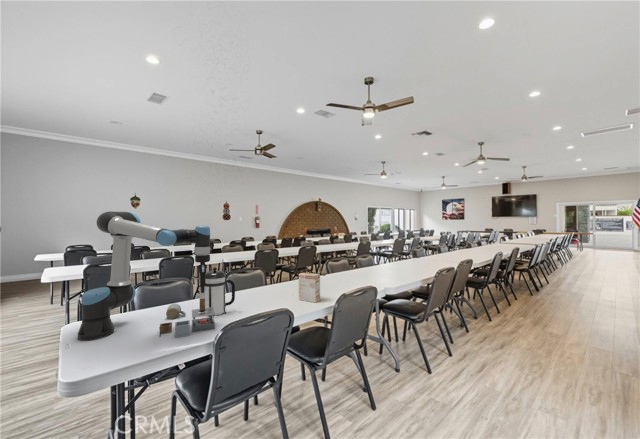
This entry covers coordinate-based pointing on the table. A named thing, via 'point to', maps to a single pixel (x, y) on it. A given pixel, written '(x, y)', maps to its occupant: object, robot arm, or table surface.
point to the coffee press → (217, 291)
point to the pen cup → (182, 328)
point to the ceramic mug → (174, 311)
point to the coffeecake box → (309, 287)
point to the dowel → (202, 305)
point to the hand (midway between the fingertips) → (202, 297)
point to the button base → (210, 321)
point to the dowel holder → (165, 328)
